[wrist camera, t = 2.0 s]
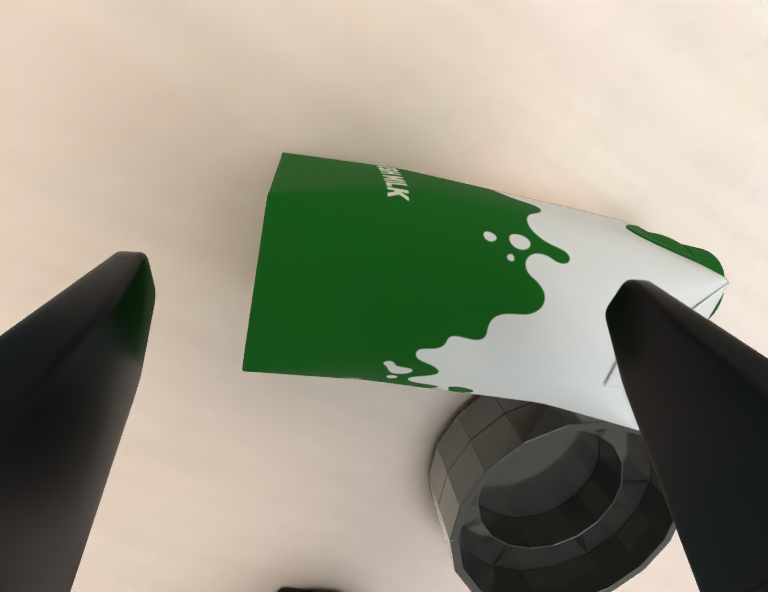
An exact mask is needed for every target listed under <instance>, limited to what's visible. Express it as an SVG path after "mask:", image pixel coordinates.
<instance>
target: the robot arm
mask: <svg viewBox="0 0 768 592" xmlns="http://www.w3.org/2000/svg"><path fill="white" fill-rule="evenodd" d="M154 304H155V286H154V282H153V277H152V273H151V269H150V265H149V261H148V258H147V256H146V255H145V254H144V253H142V252H128V251H120V252H117V253H115V254H114V255H112V256H111V257H109V258H108V259H107V260H105V261H104V262H103V263H101V264H100V265H98V266H97V267H96V268H94V269H93V270H91V271H90V272H89V273H87V274H86V275H84V276H83V277H82V278H80V279H79V280H77V281H76V282H75V283H73V284H72V285H70V286H69V287H68V288H66V289H65V290H63V291H62V292H61V293H59V294H58V295H56V296H55V297H54V298H52V299H51V300H49V301H48V302H47V303H45V304H44V305H42V306H41V307H40V308H38V309H37V310H35V311H34V312H33V313H31V314H30V315H28V316H27V317H26V318H24V319H23V320H22V321H20V322H19V323H17V324H16V325H15V326H13V327H12V328H10V329H9V330H8V331H6V332H5V333H3V334H2V335H1V336H0V592H70V591H71V588H72V585H73V582H74V579H75V576H76V573H77V570H78V567H79V564H80V561H81V558H82V555H83V552H84V549H85V545H86V542H87V539H88V536H89V533H90V530H91V527H92V524H93V521H94V518H95V515H96V512H97V509H98V506H99V503H100V500H101V497H102V494H103V491H104V488H105V485H106V482H107V479H108V476H109V473H110V469H111V466H112V463H113V460H114V457H115V454H116V451H117V448H118V445H119V442H120V439H121V436H122V433H123V430H124V427H125V424H126V421H127V418H128V415H129V412H130V409H131V406H132V403H133V400H134V397H135V394H136V390H137V387H138V384H139V380H140V377H141V372H142V367H143V362H144V357H145V352H146V346H147V341H148V336H149V330H150V325H151V320H152V315H153V309H154ZM605 319H606V323H607V327H608V331H609V335H610V339H611V342H612V346H613V350H614V354H615V358H616V362H617V366H618V370H619V374H620V377H621V381H622V384H623V387H624V390H625V393H626V396H627V398H628V401H629V404H630V406H631V409H632V412H633V414H634V417H635V420H636V422H637V425H638V428H639V430H640V433H641V436H642V438H643V441H644V444H645V446H646V449H647V452H648V454H649V457H650V460H651V462H652V465H653V468H654V470H655V473H656V476H657V478H658V481H659V484H660V486H661V489H662V492H663V494H664V497H665V500H666V502H667V505H668V508H669V511H670V513H671V516H672V519H673V521H674V524H675V527H676V529H677V532H678V535H679V537H680V540H681V543H682V545H683V548H684V551H685V553H686V556H687V559H688V561H689V564H690V567H691V569H692V572H693V575H694V577H695V580H696V583H697V585H698V588H699V591H700V592H768V358H766V357H765V356H763V355H762V354H760V353H759V352H757V351H756V350H754V349H753V348H751V347H749V346H748V345H746V344H745V343H743V342H742V341H740V340H739V339H737V338H736V337H734V336H733V335H731V334H730V333H728V332H727V331H725V330H724V329H722V328H720V327H719V326H717V325H716V324H714V323H713V322H711V321H710V320H708V319H707V318H705V317H704V316H702V315H701V314H699V313H698V312H696V311H695V310H693V309H691V308H690V307H688V306H687V305H685V304H684V303H682V302H681V301H679V300H678V299H676V298H675V297H673V296H672V295H670V294H669V293H667V292H666V291H664V290H662V289H661V288H659V287H658V286H656V285H655V284H653V283H652V282H650V281H647V280H637V279H630V280H627V281H625V282H624V283H623V284H622V285H621V287H620V288H619V290H618V291H617V293H616V294H615V296H614V297H613V299H612V300H611V302H610V303H609V305H608V306H607V309H606V313H605ZM278 592H308V591H299V590H290V589H281V590H279V591H278Z"/></svg>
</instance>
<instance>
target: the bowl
mask: <svg viewBox="0 0 768 592" xmlns="http://www.w3.org/2000/svg"><path fill="white" fill-rule="evenodd" d="M429 480H430V485H431V491H432V496H433V502H434V506H435V509H436V512H437V515H438V519H439V522H440V525H441V528H442V531H443V534H444V538H445V541H446V544H447V547H448V551H449V554H450V557H451V560H452V563H453V566H454V570H455V572H456V573H457V574H458V575H459V577H460V578H461V579H462V580H463V582H464V583H465V584H466V585H467V587H468V588H469V589H470V591H471V592H612V591H613V590H615V589H616V588H618V587H619V586H621V585H622V584H624V583H625V582H627V581H628V580H630V579H631V578H633V577H634V576H635V575H637V574H638V573H640V572H641V571H643V569H645V568H646V567H647V566H648V565H649V564H650V563H651V562H652V560H653V559H654V558H655V557H656V556H657V555H658V554H659V553H660V552H661V551H662V550H663V549H664V547H665V546H666V545H667V544H668V543H669V541H670V540H671V538H672V536H673V534H674V532H675V530H676V527H675V524H674V521H673V519H672V516H671V513H670V511H669V508H668V505H667V502H666V500H665V497H664V494H663V492H662V489H661V486H660V484H659V481H658V478H657V476H656V473H655V470H654V468H653V465H652V462H651V460H650V457H649V454H648V452H647V449H646V446H645V444H644V441H643V438H642V436H641V433H640V430H635V429H632V428H628V427H625V426H621V425H618V424H614V423H611V422H608V421H604V420H601V419H597V418H594V417H590V416H587V415H583V414H579V413H576V412H572V411H569V410H565V409H562V408H558V407H554V406H550V405H547V404H542V403H537V402H531V401H523V400H516V399H508V398H501V397H493V396H486V395H482V396H481V397H479V398H478V399H477V400H475V401H474V402H473V403H472V404H470V405H469V406H468V407H466V408H465V409H464V410H463V411H461V412H460V413H459V414H458V415H457V416H456V418H455V419H454V421H453V422H452V423H451V425H450V426H449V428H448V429H447V431H446V432H445V434H444V435H443V436H442V438H441V439H440V441H439V442H438V444H437V446H436V450H435V454H434V458H433V462H432V466H431V470H430V474H429Z"/></svg>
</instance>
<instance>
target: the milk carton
mask: <svg viewBox="0 0 768 592" xmlns="http://www.w3.org/2000/svg"><path fill="white" fill-rule="evenodd" d="M630 279H637V280H647V281H650V282H652V283H653V284H655V285H656V286H658V287H659V288H661V289H662V290H664V291H666V292H667V293H669V294H670V295H672V296H673V297H675V298H676V299H678V300H679V301H681V302H682V303H684V304H685V305H687V306H688V307H690V308H691V309H693V310H695V311H696V312H698V313H699V314H701V315H702V316H704V317H705V318H707V319H709V318H710V317H711V316H712V315H713V314H714V313H715V311H716V310H717V308H718V306H719V305H720V302H721V300H722V297H723V294H724V291H725V289H726V287H727V286H728V284H729V281H728V280H727V278H725V276H724V271H723V268H722V266H721V264H720V262H719V261H718V259H717V258H716V257H715V256H714V255H713V254H711V253H710V252H709V251H705V250H704V249H700V248H696V247H691V246H687V245H683V244H680V243H678V242H677V241H675V240H673V239H671V238H668V237H666V236H663V235H660V234H656V233H651V232H647V231H645V230H643V229H642V228H640V227H638V226H634V225H630V224H628V223H626V222H625V221H622V220H618V219H613V218H609V217H605V216H601V215H597V214H593V213H589V212H585V211H581V210H576V209H572V208H568V207H564V206H559V205H555V204H551V203H547V202H542V201H538V200H534V199H529V198H525V197H521V196H516V195H512V194H507V193H503V192H499V191H494V190H490V189H486V188H481V187H477V186H473V185H468V184H464V183H460V182H455V181H451V180H447V179H442V178H438V177H434V176H429V175H425V174H420V173H416V172H411V171H407V170H402V169H397V168H391V167H385V166H378V165H371V164H363V163H356V162H348V161H341V160H333V159H326V158H319V157H311V156H304V155H296V154H290V153H282V156H281V160H280V163H279V165H278V168H277V171H276V174H275V177H274V180H273V183H272V186H271V188H270V191H269V193H268V197H267V202H266V209H265V216H264V222H263V229H262V236H261V243H260V250H259V256H258V263H257V270H256V277H255V284H254V291H253V297H252V304H251V311H250V318H249V325H248V332H247V339H246V345H245V353H244V360H243V368H242V370H243V371H247V372H263V373H277V374H291V375H305V376H319V377H334V378H348V379H361V380H371V381H379V382H387V383H394V384H402V385H410V386H417V387H425V388H433V389H440V390H448V391H456V392H463V393H471V394H478V395H486V396H493V397H501V398H508V399H516V400H523V401H531V402H537V403H542V404H547V405H550V406H554V407H558V408H562V409H565V410H569V411H572V412H576V413H579V414H583V415H587V416H590V417H594V418H597V419H601V420H604V421H608V422H611V423H614V424H618V425H621V426H625V427H628V428H632V429H635V430H639V428H638V425H637V422H636V420H635V417H634V414H633V412H632V409H631V406H630V404H629V401H628V398H627V396H626V393H625V390H624V387H623V384H622V381H621V377H620V374H619V370H618V366H617V362H616V358H615V354H614V350H613V346H612V342H611V339H610V335H609V331H608V327H607V323H606V319H605V313H606V309H607V306H608V305H609V303H610V302H611V300H612V299H613V297H614V296H615V294H616V293H617V291H618V290H619V288H620V287H621V285H622V284H623V283H624V282H625V281H627V280H630Z"/></svg>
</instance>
